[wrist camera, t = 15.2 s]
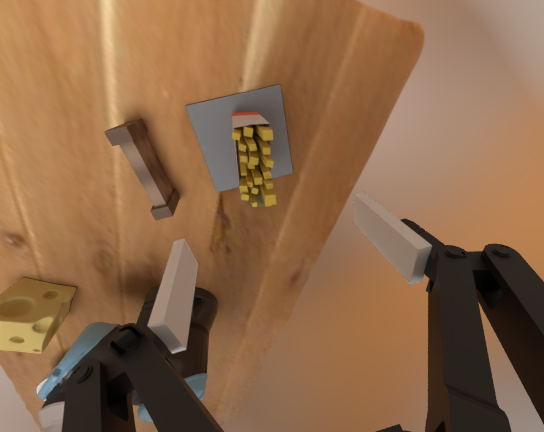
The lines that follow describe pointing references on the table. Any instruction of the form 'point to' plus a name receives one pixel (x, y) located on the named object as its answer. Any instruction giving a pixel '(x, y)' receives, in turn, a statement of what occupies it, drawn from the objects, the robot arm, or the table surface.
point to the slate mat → (218, 131)
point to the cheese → (32, 314)
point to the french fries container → (253, 158)
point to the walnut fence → (145, 166)
